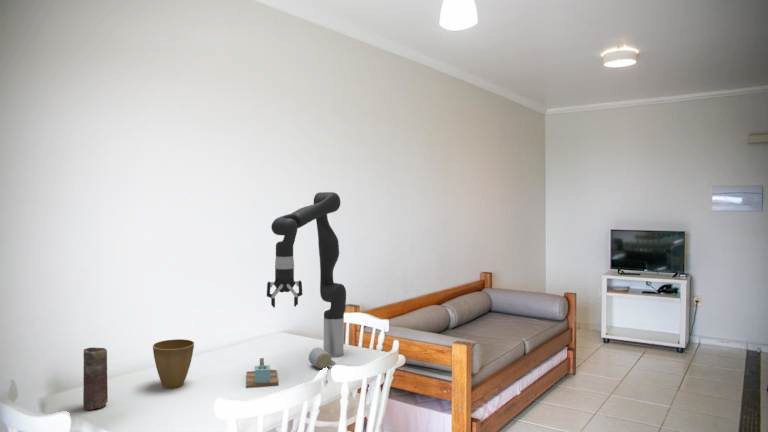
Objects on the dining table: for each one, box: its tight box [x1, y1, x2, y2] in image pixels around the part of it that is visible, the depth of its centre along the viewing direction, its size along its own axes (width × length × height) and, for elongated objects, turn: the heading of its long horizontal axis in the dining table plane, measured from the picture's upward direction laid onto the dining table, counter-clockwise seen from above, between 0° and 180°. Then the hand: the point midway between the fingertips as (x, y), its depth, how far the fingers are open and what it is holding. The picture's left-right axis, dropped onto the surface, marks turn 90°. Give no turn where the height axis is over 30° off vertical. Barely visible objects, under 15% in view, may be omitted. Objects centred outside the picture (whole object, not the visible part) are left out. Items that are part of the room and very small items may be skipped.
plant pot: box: [152, 338, 195, 389], centre depth 207 cm, size 15×15×16 cm
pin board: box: [245, 357, 279, 389], centre depth 214 cm, size 16×12×7 cm
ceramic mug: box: [308, 347, 337, 370], centre depth 232 cm, size 11×8×8 cm
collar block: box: [254, 364, 271, 383], centre depth 210 cm, size 6×6×5 cm
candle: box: [82, 347, 109, 411], centre depth 185 cm, size 8×7×20 cm
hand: (284, 306), depth 220 cm, fingers open, 8 cm apart
